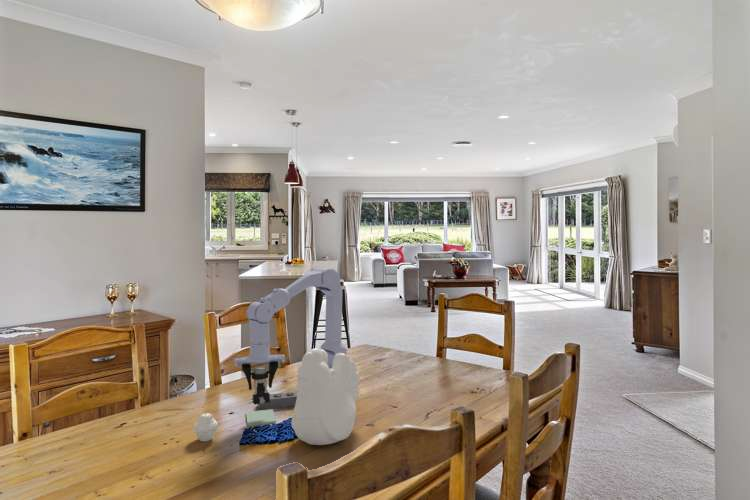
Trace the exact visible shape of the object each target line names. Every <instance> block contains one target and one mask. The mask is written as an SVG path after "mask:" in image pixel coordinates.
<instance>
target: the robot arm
mask: <svg viewBox="0 0 750 500" xmlns="http://www.w3.org/2000/svg"><path fill="white" fill-rule="evenodd" d="M311 287H314V288H316V289H319V291H321V293H323V294H324V295H325V324H324V325H325V326H324V327H325V332H324V334H325V335H324V339H325V340H324V342H323V343H322V344H321V345H320V350H321V349H323V350H325V351H326V352H327V354H328V361H327V365H328V367H329V369H330V368H332V364H333V359H334V356H335V355H336V354H338V353H343V354H346V355H348V353H347V350H348V349H347V347H346V345H344V343H343V342H342V331H343V330H342V328H343V325H342V323H343V319H342V318H343V287H342V284H341V275H340V274H339V272H337V270H335V269H334V268H320V267H313V268H311V269H309V270H306V271H305V272H304V274H303V275H302V276H300V277H299V278H298V279H296V280H294V282H292V283H291V284H289V285H288V286H286V287H285V288H281V287H280V288H274V289H272V292H271V293H269V294H268V295H266V296H265V297H263V296H262V297H260V298H259V301H254V302H251V303H250V304H249V306H248V307H247V309H246V311H245V316H246V318H247V319H248V322H249V323H248V325H249V356H244V357H237V358H234V367H240V366H241V369H242V372H243V373H244V376H245V378H246V381H247V384H248V390H249V391H251V390H252V386H253V385H252V375H251V373H252V365H259V364H260V365H263V364H268V371H269V374H268V388H269V389H271V388H272V387H273V381H274V378H275V375H276V372H277V370H278V368H279V363H286V356H285V354H271V353H270V352H271V351H270V348H271V347H270V346H271V345H270V343H271V342H270V339H271V338H270V337H271V335H270V321H271V320H272V319H273V317H274V315H275V313H277V312H279V311H281V310H282V309H283V308H285V307H286V306H288V305H289V304H290V303H291V299H292V298H294V297H295V296H297V295H299V294H300V293H301V292H304V291H305V290H307V289H308V288H311Z"/></svg>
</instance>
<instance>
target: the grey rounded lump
mask: <svg viewBox="0 0 750 500" xmlns="http://www.w3.org/2000/svg"><path fill="white" fill-rule="evenodd" d="M218 427H219V423H218V421H217V420H216V419H215V418H214V416H213V414H211V413H210V412H209V413H208V412H207V413H206V412H205V413H202V414H200V415H199V417H198V420H197V421H196V422H195V423H194V426H193V430H194V433H195V435H196V436H197V438H198V440H199V441H201V442H208V441H211V440H213V438H214V436H215V434H216V433H217V432H216V431H217V430H218Z"/></svg>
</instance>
